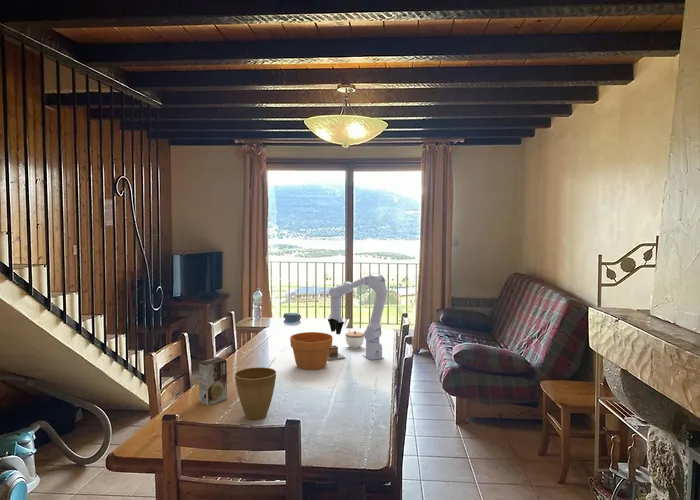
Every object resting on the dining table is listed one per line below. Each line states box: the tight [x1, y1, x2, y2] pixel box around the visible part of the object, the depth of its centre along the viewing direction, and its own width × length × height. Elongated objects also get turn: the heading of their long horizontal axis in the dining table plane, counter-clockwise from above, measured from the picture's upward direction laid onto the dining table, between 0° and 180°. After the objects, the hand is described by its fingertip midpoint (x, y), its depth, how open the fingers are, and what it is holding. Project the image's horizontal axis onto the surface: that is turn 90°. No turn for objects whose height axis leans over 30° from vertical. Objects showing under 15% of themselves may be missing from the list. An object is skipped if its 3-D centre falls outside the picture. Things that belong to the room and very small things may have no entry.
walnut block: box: [328, 344, 339, 357], centre depth 259 cm, size 4×4×5 cm
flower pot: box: [289, 331, 333, 371], centre depth 243 cm, size 21×21×15 cm
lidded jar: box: [345, 330, 365, 349], centre depth 282 cm, size 11×11×9 cm
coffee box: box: [198, 356, 228, 406], centre depth 193 cm, size 9×6×16 cm
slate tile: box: [327, 352, 346, 361], centre depth 260 cm, size 10×10×1 cm
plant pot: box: [234, 366, 277, 420], centre depth 178 cm, size 15×15×16 cm
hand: (335, 332), depth 272 cm, fingers open, 7 cm apart
